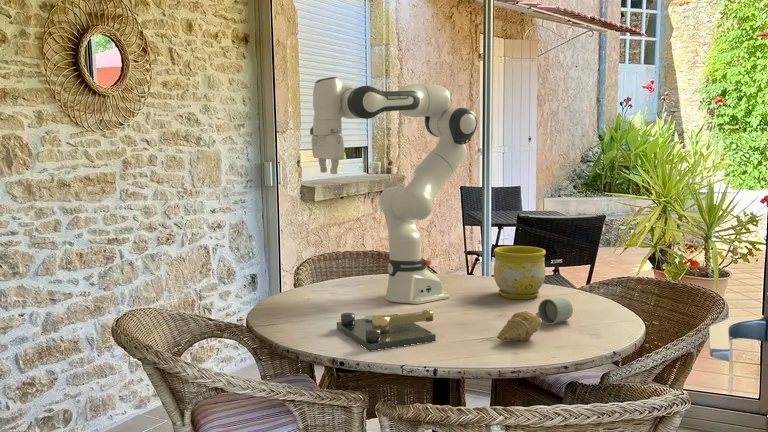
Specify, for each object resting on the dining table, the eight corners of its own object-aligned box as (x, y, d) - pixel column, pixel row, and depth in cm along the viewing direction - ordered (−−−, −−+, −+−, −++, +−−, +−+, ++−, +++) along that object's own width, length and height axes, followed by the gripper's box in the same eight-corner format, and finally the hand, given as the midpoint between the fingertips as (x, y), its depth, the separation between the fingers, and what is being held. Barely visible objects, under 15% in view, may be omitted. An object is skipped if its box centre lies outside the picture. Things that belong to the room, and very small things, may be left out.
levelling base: (397, 320, 210) (397, 304, 209) (435, 341, 188) (435, 323, 188) (336, 328, 201) (336, 312, 201) (369, 351, 180) (369, 333, 179)
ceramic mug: (574, 322, 207) (574, 297, 206) (557, 326, 202) (558, 301, 201) (546, 315, 215) (546, 291, 214) (529, 320, 210) (529, 295, 209)
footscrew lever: (376, 333, 189) (376, 320, 188) (369, 328, 193) (369, 316, 193) (436, 324, 197) (436, 312, 196) (428, 320, 201) (428, 308, 201)
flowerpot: (555, 296, 239) (556, 250, 237) (519, 304, 229) (519, 256, 227) (518, 287, 254) (519, 244, 252) (482, 294, 243) (483, 248, 242)
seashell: (513, 350, 180) (513, 321, 179) (489, 343, 186) (489, 315, 185) (543, 339, 189) (544, 311, 188) (519, 333, 195) (520, 306, 194)
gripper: (349, 129, 206) (350, 174, 208) (326, 129, 225) (327, 171, 226) (329, 129, 203) (330, 175, 205) (308, 129, 222) (309, 172, 224)
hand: (328, 173), depth 216 cm, fingers open, 8 cm apart
